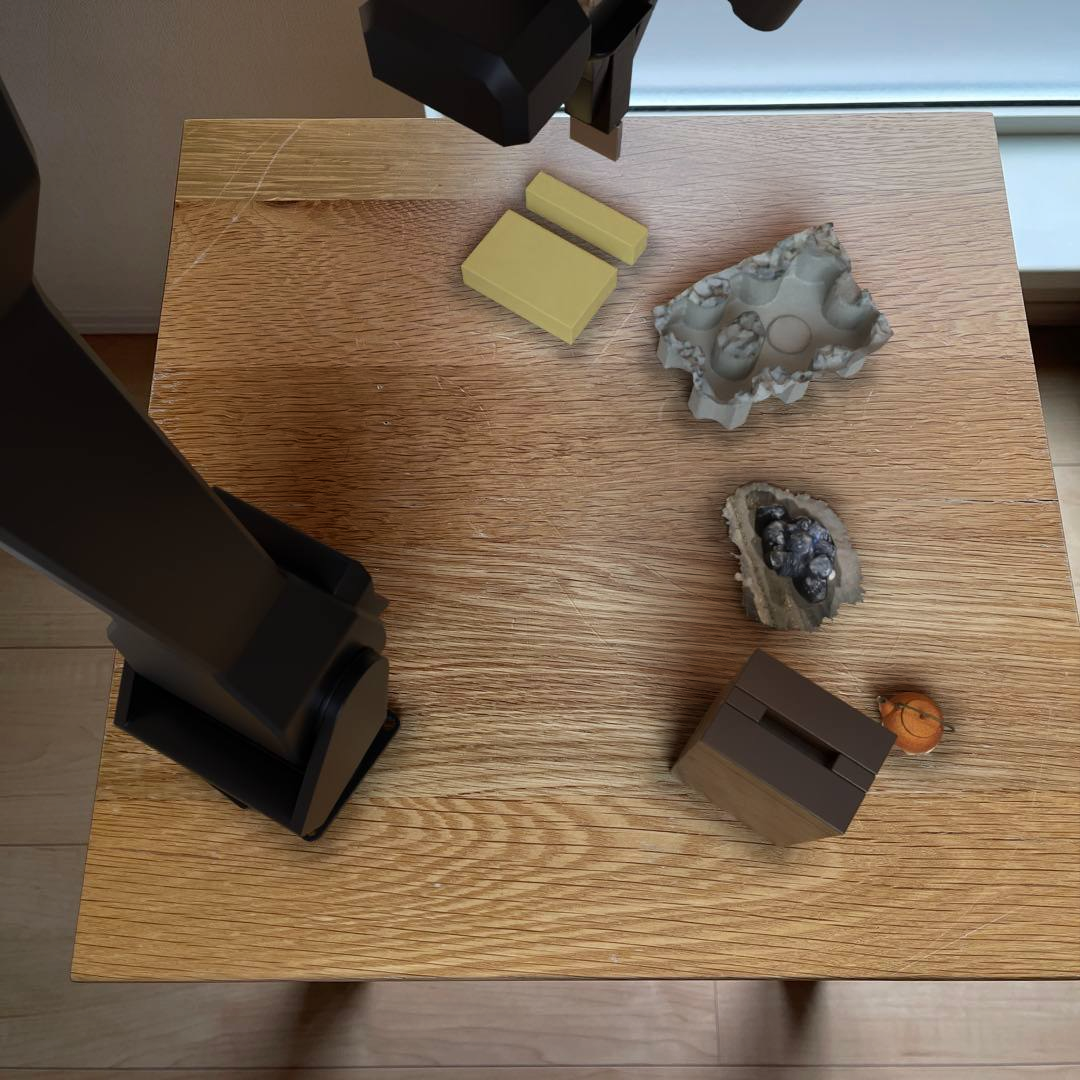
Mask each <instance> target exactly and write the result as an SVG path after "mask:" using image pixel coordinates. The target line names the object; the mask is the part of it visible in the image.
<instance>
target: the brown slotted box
mask: <svg viewBox="0 0 1080 1080" xmlns="http://www.w3.org/2000/svg"><path fill="white" fill-rule="evenodd" d="M897 738H898V735H897V734H895V733H894V732H892V731H890V730H889V729H887V728H886V727H884V726H882V723H879V722H877V721H876V720H875V719H873V718H872V717H870V716H868V715H867V714H865V713H863V712H862V711H860V710H858V709H857V708H856V707H853V706H852V705H851V704H849V703H847V702H846V701H844V700H842V699H841V698H840V697H838V696H836V695H835V694H834V693H832V692H831V691H828V690H827V689H825V688H824V687H822V686H820V685H819V684H817V683H816V682H814V681H812V680H811V679H809V678H807V677H806V676H804V675H803V674H801V673H799V672H798V671H796V670H795V669H793V668H792V667H790V666H788V665H787V664H785V663H783V662H782V661H781V660H779V659H778V658H775V657H774V656H772V655H771V654H769V653H768V652H766V651H765V650H763V649H761V648H760V647H756V648H755V649H754V650H753V651H752V653H751V654H750V655H749V656H748V658H747V659H746V660H745V661H744V662H743V664H742V665H741V666H740V668H739V669H738V670H737V671H736V672H735V674H734V675H733V676H732V677H731V678H730V680H729V681H728V682H727V683H726V685H725V686H724V687H723V688H722V689H721V690H720V692H719V693H718V694H717V696H716V697H715V698H714V699H713V700H712V703H711V704H710V705H709V707H708V708H707V710H706V712H705V713H704V715H703V717H702V719H701V720H700V722H699V723H698V725H697V727H696V728H695V730H694V731H693V733H692V734H691V736H690V738H689V739H688V741H687V742H686V744H685V746H684V747H683V749H682V751H681V752H680V753H679V756H678V757H677V759H676V760H675V762H674V763H673V765H672V766H671V768H670V770H669V773H668V774H669V775H671V776H672V777H673V778H675V779H677V780H678V781H679V782H681V783H683V784H684V785H685V786H687V787H689V788H690V789H691V790H693V791H694V792H696V793H697V794H699V795H700V796H702V797H703V798H705V799H706V800H708V801H709V802H711V803H712V804H713V805H715V806H716V807H718V808H719V809H721V810H723V811H724V812H725V813H727V814H729V816H731V817H733V818H735V819H736V820H737V821H738V822H740V823H742V824H743V825H744V826H746V827H748V828H750V829H751V830H752V831H753V832H755V833H757V834H758V835H760V836H761V837H763V838H764V839H765V840H767V841H768V842H770V843H771V844H773V845H774V846H776V847H777V848H783V847H784V848H785V847H788V846H794V845H797V844H804V843H809V842H814V841H819V840H824V839H829V838H833V837H840V836H844V835H845V834H846V832H847V831H848V829H849V827H850V825H851V823H852V822H853V820H854V818H855V816H856V815H857V812H858V810H859V809H860V807H861V806H862V804H863V802H864V800H865V798H866V796H867V793H869V791H870V789H871V787H872V785H873V783H874V781H875V780H876V776H877V775H878V774H879V773H880V770H881V769H882V767H883V765H884V764H885V762H886V759H887V758H888V756H889V754H890V752H891V751H892V749H893V747H894V746H893V745H894V743H895V741H896V740H897Z"/></svg>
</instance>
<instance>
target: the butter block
mask: <svg viewBox="0 0 1080 1080" xmlns="http://www.w3.org/2000/svg"><path fill="white" fill-rule="evenodd" d="M460 266H461V274H462V281H463V284H464V285H466V286H468V287H469V288H471V289H473V290H474V291H477V293H479V294H481V295H483V296H485V297H487V298H489V299H490V300H492V301H494V302H495V303H497V304H499V305H500V306H502V307H504V308H506V309H507V310H509V311H511V312H512V313H514V314H516V315H518V316H520V317H522V318H523V319H524V320H526V321H528V322H530V323H531V324H533V325H535V326H537V327H538V328H540V329H542V330H544V331H546V332H547V333H549V334H550V335H553V336H555V337H556V338H558V339H559V340H561V341H563V342H564V343H567V344H568V345H570V346H572V345H573V344H574V342H575V341H576V340H577V339H578V337H579V336H580V334H581V333H582V332H583V331H584V329H585V328H586V327H587V325H589V323H590V321H591V320H592V319H593V318H594V316H595V314H597V313H598V311H599V310H600V309H601V307H602V306H603V305H604V303H605V302H606V300H607V299H608V298H609V297H610V295H612V293H613V291H615V289H616V288H617V279H618V272H619V271H618V270H619V269H618V268H617V267H616V266H614V265H612V264H610V263H608V262H607V261H604V260H603V259H601V258H599V257H598V256H596V255H594V254H592V253H590V252H588V251H587V250H584V249H582V248H581V247H579V246H577V245H575V244H573V243H572V242H570V241H568V240H566V239H564V238H563V237H561V236H559V235H557V234H555V233H554V232H552V231H551V230H548V229H546V228H544V227H543V226H541V225H539V224H537V223H535V222H534V221H532V220H530V219H528V218H526V217H524V216H523V215H521V214H519V213H517V212H515V211H514V210H513V209H512V210H511V209H510V208H509V209H507V210H506V211H505V212H504V214H503V215H502V216H501V217H500V218H499V219H498V221H497V222H496V223H495V224H494V225H493V227H492V228H491V229H490V230H489V231H488V233H487V234H486V235H485V236H484V237H483V238H482V239H481V241H480V242H479V243H478V245H476V247H475V248H474V249H473V251H472V252H470V254H469V255H468V256H467V257H466V259H465V260H464V261H463V262H462V264H461V265H460Z"/></svg>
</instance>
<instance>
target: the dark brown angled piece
mask: <svg viewBox="0 0 1080 1080" xmlns="http://www.w3.org/2000/svg"><path fill="white" fill-rule="evenodd" d="M635 34H636V28H635V29H634V30H633V31H632V33H631V34H630V35H629V36H628V37H627V38H626V39H625V41H624V42H623V43H622V44H621V45H620V46H619V48H618V49H617V50H616V51H615V52H614V53H613V54H612V55H611V56H610V58H609V63H608V68H607V73H606V78H605V83H604V88H603V93H602V97H601V101H600V104H599V108H598V112H597V115H596V118H595V119H594V120H593V121H592V122H591V123H586V122H584V121H582V120H580V119H578V118H576V117H575V116H573V115H571V114H570V113H569V112H568V110H567V109H566V107H565V105H564V104H563V109H564V110H563V111H564V114H566V115H568V116H569V139H570V140H572V141H574V142H576V143H578V144H579V145H581V146H584V147H585V148H587V149H589V150H590V151H593V152H595V153H597V154H599V155H601V156H603V157H605V158H607V159H608V160H610V161H612V162H613V163H616V162H617V161H618V160H619V159H620V158H621V152H622V140H623V126H624V122H623V120H622V119H623V118H624V117H625V116H626V115H627V114H628V112H629V111H630V100H631V88H632V80H633V79H632V77H633V67H634V59H633V57H634V45H635ZM634 58H635V57H634Z"/></svg>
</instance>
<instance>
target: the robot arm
mask: <svg viewBox="0 0 1080 1080" xmlns="http://www.w3.org/2000/svg"><path fill="white" fill-rule="evenodd" d="M658 1H659V0H365V1H364V2H363V3H362V4H361V5H360V6H359V7H358V13H359V19H360V25H361V30H362V36H363V39H364V45H365V49H366V53H367V57H368V62H369V65H370V70H371V75H372V78H374V79H376V80H377V81H380V82H382V83H384V84H385V85H387V86H389V87H391V88H392V89H395V90H396V91H398V92H400V93H402V94H403V95H405V96H407V97H410V99H413V100H415V101H417V102H418V103H420V104H422V105H424V106H426V107H428V108H430V109H432V110H434V111H435V112H437V113H439V114H441V115H442V116H445V117H446V118H448V119H450V120H451V121H454V122H455V123H458V124H459V125H462V126H463V127H465V128H467V129H469V130H470V131H473V132H474V133H476V134H478V135H480V136H482V137H483V138H486V139H487V140H489V141H491V142H493V143H495V144H497V145H498V146H501V147H502V148H509V147H514V146H521V145H527V144H530V143H531V142H532V141H533V139H535V137H536V136H537V135H538V134H539V133H540V131H541V130H542V129H543V128H544V127H545V126H546V125H547V124H548V122H549V121H550V120H551V119H552V118H553V117H554V115H555V114H556V113H557V112H558V111H559V109H560V108H561V107H563V106H564V105H565V107H566V109H567V110H568V112H569V113H570V114H571V115H573V116H575V117H576V118H578V119H580V120H582V121H584V122H586V123H591V122H592V121H593V120H594V119H595V118H596V115H597V112H598V108H599V104H600V101H601V97H602V93H603V88H604V83H605V78H606V73H607V68H608V63H609V58H610V56H611V55H612V54H613V53H614V52H615V51H616V50H617V49H618V48H619V46H620V45H621V44H622V43H623V42H624V41H625V39H626V38H627V37H628V36H629V35H630V34H631V33H632V31H633V30H634V29H635V28H636V34H635V45H634V57H633V60H634V58H635V56H636V54H637V52H638V49H639V47H640V44H641V42H642V39H643V38H644V35H645V33H646V30H647V27H648V25H649V23H650V20H651V18H652V15H653V14H654V11H655V9H656V6H657V4H658ZM726 1H727V2H729V4H730V6H731V10H732V13H733V14H734V15H735V16H736V17H737V18H738V19H739V20H740V22H741V21H742V23H743V24H745V25H746V26H747V27H749V28H752V29H753V30H755V31H759V32H764V33H768V32H769V33H770V32H775V31H777V30H778V29H780V28H782V27H783V26H784V25H785V24H786V23H787V22H788V20H789V19H790V17H791V16H792V15H793V14H794V12H795V11H796V10H797V8H798V7H800V5H801V3H802V2H803V1H804V0H726ZM41 183H42V181H41V175H40V168H39V163H38V156H37V152H36V149H35V146H34V144H33V141H32V140H31V137H30V135H29V133H28V131H27V129H26V127H25V125H24V122H23V120H22V118H21V117H20V114H19V112H18V110H17V108H16V106H15V104H14V101H13V98H12V97H11V95H10V92H9V91H8V89H7V86H6V84H5V82H4V80H3V78H2V76H1V75H0V549H1V550H2V551H4V552H6V553H7V554H9V555H10V556H12V557H13V558H16V559H17V560H18V561H20V562H21V563H23V564H25V565H27V566H28V567H30V568H32V569H33V570H35V571H36V572H38V573H40V574H41V575H43V576H44V577H46V578H48V579H50V580H51V581H53V582H54V583H56V584H57V585H59V586H61V587H62V588H64V589H66V590H67V591H69V592H70V593H72V594H74V595H75V596H77V597H78V598H80V599H82V600H83V601H85V602H87V603H88V604H90V605H92V606H93V607H94V608H96V609H98V610H100V611H101V612H103V613H104V614H105V615H108V616H109V617H110V618H111V619H112V620H111V621H110V623H109V624H108V626H107V627H106V628H105V629H106V637H107V639H108V641H109V642H110V643H111V644H112V645H113V647H114V648H115V650H117V651H118V652H119V653H120V655H121V656H122V657H123V664H122V670H121V676H120V682H119V688H118V694H117V699H116V705H115V709H114V710H115V711H114V716H113V722H112V723H113V726H114V727H115V728H118V729H119V730H120V731H123V732H124V733H126V734H127V735H129V736H131V737H133V738H134V739H136V740H137V741H139V742H141V743H142V744H144V745H146V746H147V747H149V748H151V749H152V750H154V751H156V752H157V753H159V754H161V755H163V756H164V757H166V758H167V759H169V760H171V762H172V761H173V762H174V763H176V764H178V765H179V766H181V767H182V768H185V770H187V771H189V772H191V773H193V774H194V775H195V776H197V777H198V778H201V779H202V780H203V781H205V782H206V783H207V784H209V785H210V786H211V787H212V788H214V789H215V790H216V791H218V792H219V793H220V794H222V795H223V796H224V797H225V798H227V799H228V800H229V801H231V802H232V803H233V804H235V805H236V806H238V807H239V808H240V809H241V810H244V811H248V812H252V813H255V814H259V815H260V814H261V815H262V816H263V817H266V818H268V819H269V820H271V821H273V822H274V823H276V824H277V825H279V826H281V827H282V828H284V829H286V830H288V831H289V832H290V833H293V834H294V835H296V836H298V837H299V838H300V839H302V840H303V841H306V842H308V843H316V842H319V841H320V840H321V839H323V837H324V836H325V834H326V833H327V832H328V830H329V829H330V828H331V826H332V825H333V823H334V822H335V821H336V819H337V818H338V816H339V815H340V814H341V812H342V811H343V810H344V808H345V807H346V806H347V804H348V803H349V801H350V800H351V798H352V797H353V796H354V795H355V794H356V792H357V791H358V789H360V788H359V787H361V785H362V784H363V782H364V781H365V779H366V778H367V776H368V775H369V774H370V772H371V771H372V770H373V768H374V767H375V765H376V764H377V763H378V761H379V760H380V758H381V757H382V756H383V755H384V753H385V752H386V750H388V748H389V746H390V745H391V744H392V742H394V740H395V739H396V737H397V736H398V734H399V733H400V731H401V729H402V721H401V718H400V717H399V716H398V715H397V714H396V713H395V712H393V711H392V710H390V708H388V697H389V678H390V660H389V659H388V657H386V656H384V655H383V654H381V653H383V651H384V650H385V649H386V645H387V633H386V628H385V624H384V620H383V619H382V618H381V615H382V614H383V613H384V612H385V611H386V610H387V609H388V608H389V606H390V604H391V599H389V598H387V597H386V596H383V595H381V594H380V593H378V592H376V591H375V586H374V581H373V577H372V576H371V574H370V573H369V571H368V570H367V569H366V568H365V566H364V565H363V564H362V563H361V561H359V560H357V559H355V558H354V557H351V556H349V555H348V554H346V553H344V552H342V551H341V550H338V549H336V548H335V547H332V546H331V545H329V544H327V543H325V542H323V541H321V540H319V539H318V538H315V537H313V536H312V535H310V534H309V533H306V532H304V531H302V530H300V529H298V528H297V527H295V526H293V525H291V524H289V523H287V522H285V521H283V520H281V519H280V518H278V517H276V516H274V515H272V514H270V513H268V512H267V511H265V510H263V509H261V508H258V507H257V506H255V505H253V504H252V503H249V502H248V501H245V500H244V499H242V498H240V497H238V496H236V495H235V494H233V493H231V492H229V491H227V490H225V489H223V488H221V487H219V486H218V485H215V484H214V485H213V486H212V487H211V486H210V484H208V482H207V481H206V480H205V479H204V478H203V477H202V476H201V474H200V473H199V471H197V470H196V468H195V467H194V466H193V465H192V464H191V463H190V461H189V460H188V459H187V458H186V457H185V456H184V454H183V453H182V452H181V450H180V449H179V448H178V447H177V446H176V445H175V444H174V443H173V441H172V440H171V439H170V438H169V437H168V436H167V434H166V433H165V432H164V431H163V430H162V429H161V427H160V426H159V425H158V424H157V423H156V422H155V420H154V419H153V418H152V417H151V416H150V414H149V413H147V411H146V409H144V408H143V406H142V405H141V404H140V403H139V402H138V400H136V398H135V397H134V396H133V395H132V394H131V392H130V391H129V390H128V389H127V388H126V386H125V385H124V384H123V383H122V382H121V381H120V379H119V378H118V377H117V376H116V375H115V374H114V373H113V371H112V370H111V369H110V368H109V367H108V365H106V363H105V362H104V361H103V359H101V357H100V356H99V355H98V354H97V352H95V350H94V349H93V348H92V347H91V346H90V345H89V343H88V342H87V341H86V340H85V339H84V337H83V336H82V335H81V334H80V333H79V332H78V330H77V329H76V328H75V327H74V326H73V325H72V324H71V322H70V321H69V319H67V318H66V317H65V315H64V314H63V313H62V312H61V311H60V309H58V307H57V305H55V303H54V302H53V301H52V300H51V299H50V298H49V296H48V295H47V294H46V292H45V291H44V289H43V287H42V286H41V284H40V282H39V280H38V278H37V276H36V274H35V272H34V267H35V255H36V253H35V252H36V242H37V231H38V219H39V218H38V217H39V208H40V207H39V205H40V195H41ZM389 720H390V721H391V720H392V721H394V725H393V727H391V728H387V727H386V723H387V722H388V721H389ZM315 830H316V832H315V833H314V834H313V835H310V834H311V832H314V831H315Z"/></svg>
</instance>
